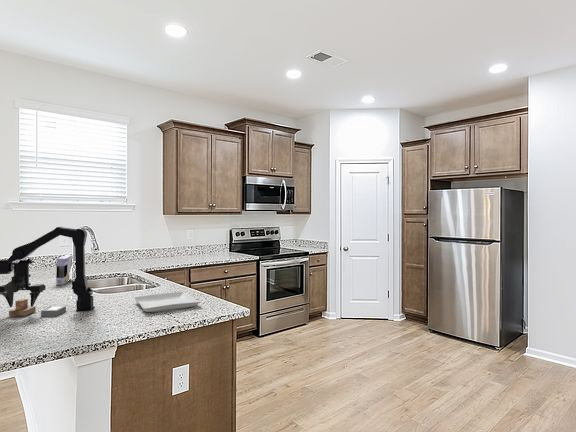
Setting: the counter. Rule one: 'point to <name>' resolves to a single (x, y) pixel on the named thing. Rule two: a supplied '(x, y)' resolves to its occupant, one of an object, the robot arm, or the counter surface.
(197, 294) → the counter surface
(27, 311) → the block on square base
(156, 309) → the square plate
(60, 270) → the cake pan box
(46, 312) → the board
